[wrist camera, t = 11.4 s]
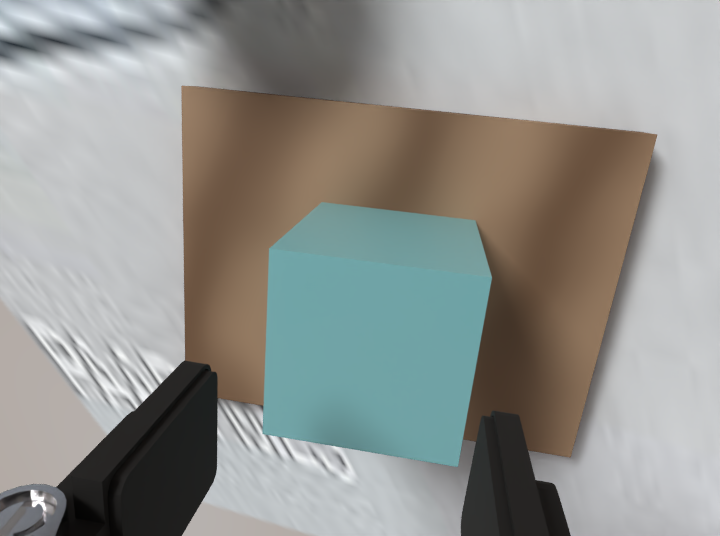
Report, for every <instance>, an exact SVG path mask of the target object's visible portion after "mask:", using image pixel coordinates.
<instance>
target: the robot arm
mask: <svg viewBox="0 0 720 536" xmlns="http://www.w3.org/2000/svg"><path fill="white" fill-rule="evenodd" d="M217 397H218V377H217V373H216V372H213V371H211V368H210V365H209V364H203V363H197V362H191V361H184V362H182V363H181V364H180V365H179V366H178V367H177V368H176V369H175V370H174V371H173V372H172V373H171V374H170V375H169V376H168V377H167V378H166V379H165V380H164V381H163V382H162V383H161V385H160V386H159V387H158V388H157V389H156V390H155V391H154V392H153V393H152V394H151V395H150V396H149V397H148V398H147V399H146V400H145V401H144V402H143V403H142V404H141V405H140V406H139V407H138V408H137V409H136V410H135V411H133V412H131V413H130V414H128V415H127V416H126V417H125V418H124V419H123V420H122V421H121V422H120V423H119V424H118V425H117V426H116V427H115V428H114V429H113V430H112V431H111V432H110V433H109V434H108V435H107V436H106V437H105V438H104V439H103V440H102V441H101V442H100V443H99V444H98V445H97V446H96V448H95V449H94V450H92V451H91V452H90V454H89V455H88V456H87V457H86V458H85V459H84V460H83V461H82V462H81V463H80V464H79V465H78V466H77V467H76V468H75V469H74V470H73V471H72V472H71V473H70V474H69V475H68V476H67V477H66V478H65V479H64V480H63V481H62V482H61V483H60V484H59V485H58V486H57V487H53V486H50V485H46V484H31V485H25V486H19V487H16V488H13V489H11V490H7V491H5V492H3V493H1V494H0V536H182V534H183V533H184V531H185V529H186V527H187V526H188V524H189V522H190V521H191V519H192V517H193V516H194V514H195V512H196V511H197V509H198V507H199V505H200V504H201V502H202V501H203V499H204V497H205V495H206V494H207V492H208V490H209V489H210V487H211V485H212V483H213V481H214V478H215V475H216V470H217ZM461 536H571V535H570V532H569V528H568V525H567V522H566V518H565V515H564V512H563V508H562V505H561V502H560V498H559V495H558V492H557V489H556V487H555V485H554V484H553V483H549V482H543V481H537V480H535V477H534V473H533V469H532V465H531V461H530V457H529V453H528V449H527V445H526V441H525V437H524V433H523V429H522V425H521V421H520V417H519V415H518V414H512V413H506V412H500V411H494V410H493V411H492V412H491V415H490V417H489V416H483V415H482V417H481V420H480V425H479V430H478V435H477V440H476V445H475V450H474V456H473V461H472V466H471V471H470V476H469V481H468V486H467V491H466V496H465V501H464V506H463V511H462V519H461Z"/></svg>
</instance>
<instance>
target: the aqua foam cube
mask: <svg viewBox="0 0 720 536" xmlns="http://www.w3.org/2000/svg"><path fill="white" fill-rule="evenodd" d="M491 280H492V276H491V272H490V269H489V265H488V262H487V259H486V255H485V252H484V248H483V245H482V241H481V238H480V234H479V231H478V227H477V224H476V221H475V220H468V219H460V218H452V217H443V216H435V215H426V214H418V213H409V212H401V211H393V210H384V209H376V208H367V207H359V206H350V205H342V204H334V203H325V202H321V203H320V204H319V205H318V206H317V207H316V208H315V209H313V210H312V211H311V212H310V213H309V214H308V215H307V216H305V217H304V218H303V219H302V220H301V221H300V222H299V223H298V224H296V225H295V226H294V227H293V228H292V229H291V230H290V231H288V232H287V233H286V234H285V235H284V236H283V237H282V238H281V239H279V240H278V241H277V242H276V243H275V244H274V245H273V246H271V247H270V248H269V267H268V295H267V323H266V352H265V380H264V409H263V434H266V435H272V436H278V437H284V438H290V439H296V440H302V441H308V442H313V443H319V444H325V445H331V446H337V447H343V448H349V449H355V450H361V451H366V452H372V453H378V454H384V455H390V456H396V457H402V458H408V459H414V460H419V461H425V462H431V463H437V464H443V465H449V466H455V467H458V463H459V457H460V452H461V446H462V441H463V435H464V430H465V424H466V419H467V413H468V407H469V402H470V396H471V391H472V385H473V380H474V374H475V369H476V363H477V358H478V352H479V347H480V341H481V335H482V330H483V324H484V319H485V313H486V308H487V302H488V297H489V291H490V286H491Z"/></svg>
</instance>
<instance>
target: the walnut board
mask: <svg viewBox="0 0 720 536" xmlns="http://www.w3.org/2000/svg"><path fill="white" fill-rule="evenodd" d="M656 138H657V135H656V134H650V133H644V132H635V131H626V130H616V129H606V128H597V127H587V126H577V125H567V124H558V123H548V122H538V121H528V120H519V119H509V118H499V117H489V116H480V115H470V114H460V113H451V112H441V111H431V110H421V109H412V108H402V107H392V106H382V105H373V104H363V103H353V102H343V101H334V100H324V99H314V98H305V97H295V96H285V95H275V94H266V93H256V92H246V91H236V90H227V89H217V88H207V87H197V86H182V157H183V229H184V301H185V361H191V362H197V363H203V364H209V365H210V368H211V371H213V372H216V373H217V377H218V397H217V398H221V399H227V400H233V401H239V402H245V403H251V404H256V405H262V406H264V380H265V352H266V323H267V295H268V267H269V248H270V247H271V246H273V245H274V244H275V243H276V242H277V241H278V240H279V239H281V238H282V237H283V236H284V235H285V234H286V233H287V232H288V231H290V230H291V229H292V228H293V227H294V226H295V225H296V224H298V223H299V222H300V221H301V220H302V219H303V218H304V217H305V216H307V215H308V214H309V213H310V212H311V211H312V210H313V209H315V208H316V207H317V206H318V205H319V204H320V203H321V202H325V203H334V204H342V205H350V206H359V207H367V208H376V209H384V210H393V211H401V212H409V213H418V214H426V215H435V216H443V217H452V218H460V219H468V220H475V221H476V224H477V227H478V231H479V234H480V238H481V241H482V245H483V248H484V252H485V255H486V259H487V262H488V265H489V269H490V272H491V276H492V280H491V286H490V291H489V297H488V302H487V308H486V313H485V319H484V324H483V330H482V335H481V341H480V347H479V352H478V358H477V363H476V369H475V374H474V380H473V385H472V391H471V396H470V402H469V407H468V413H467V419H466V424H465V430H464V435H463V439H464V440H470V441H476V440H477V435H478V430H479V425H480V420H481V417H482V415H483V416H489V417H490V415H491V412H492V411H493V410H494V411H500V412H506V413H512V414H518V415H519V417H520V421H521V425H522V429H523V433H524V437H525V441H526V445H527V449H528V450H529V451H535V452H541V453H547V454H553V455H559V456H565V457H571V454H572V450H573V446H574V443H575V439H576V435H577V431H578V428H579V424H580V420H581V417H582V413H583V409H584V405H585V402H586V398H587V394H588V391H589V387H590V383H591V379H592V376H593V372H594V368H595V365H596V361H597V357H598V353H599V350H600V346H601V342H602V339H603V335H604V331H605V327H606V324H607V320H608V316H609V313H610V309H611V305H612V301H613V298H614V294H615V290H616V287H617V283H618V279H619V275H620V272H621V268H622V264H623V261H624V257H625V253H626V249H627V246H628V242H629V238H630V235H631V231H632V227H633V223H634V220H635V216H636V212H637V209H638V205H639V201H640V197H641V194H642V190H643V186H644V183H645V179H646V175H647V171H648V168H649V164H650V160H651V157H652V153H653V149H654V145H655V142H656Z"/></svg>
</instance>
